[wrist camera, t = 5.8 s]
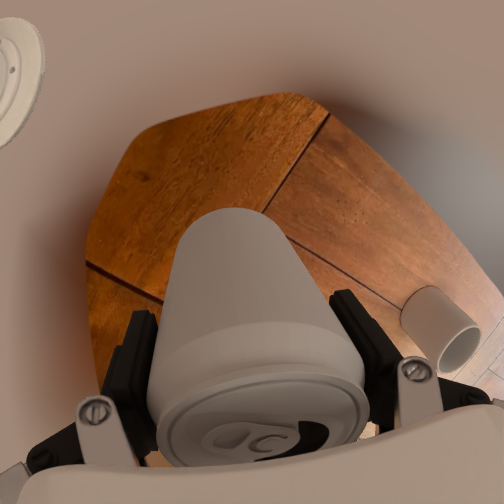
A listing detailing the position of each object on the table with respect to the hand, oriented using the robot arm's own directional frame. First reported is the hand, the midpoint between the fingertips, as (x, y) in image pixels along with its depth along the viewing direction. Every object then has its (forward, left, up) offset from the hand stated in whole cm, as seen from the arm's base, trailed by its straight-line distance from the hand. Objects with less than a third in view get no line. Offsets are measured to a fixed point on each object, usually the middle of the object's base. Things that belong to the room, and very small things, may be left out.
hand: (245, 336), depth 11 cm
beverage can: (0, 0, -7) cm, 7 cm away
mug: (+31, -20, -23) cm, 43 cm away
